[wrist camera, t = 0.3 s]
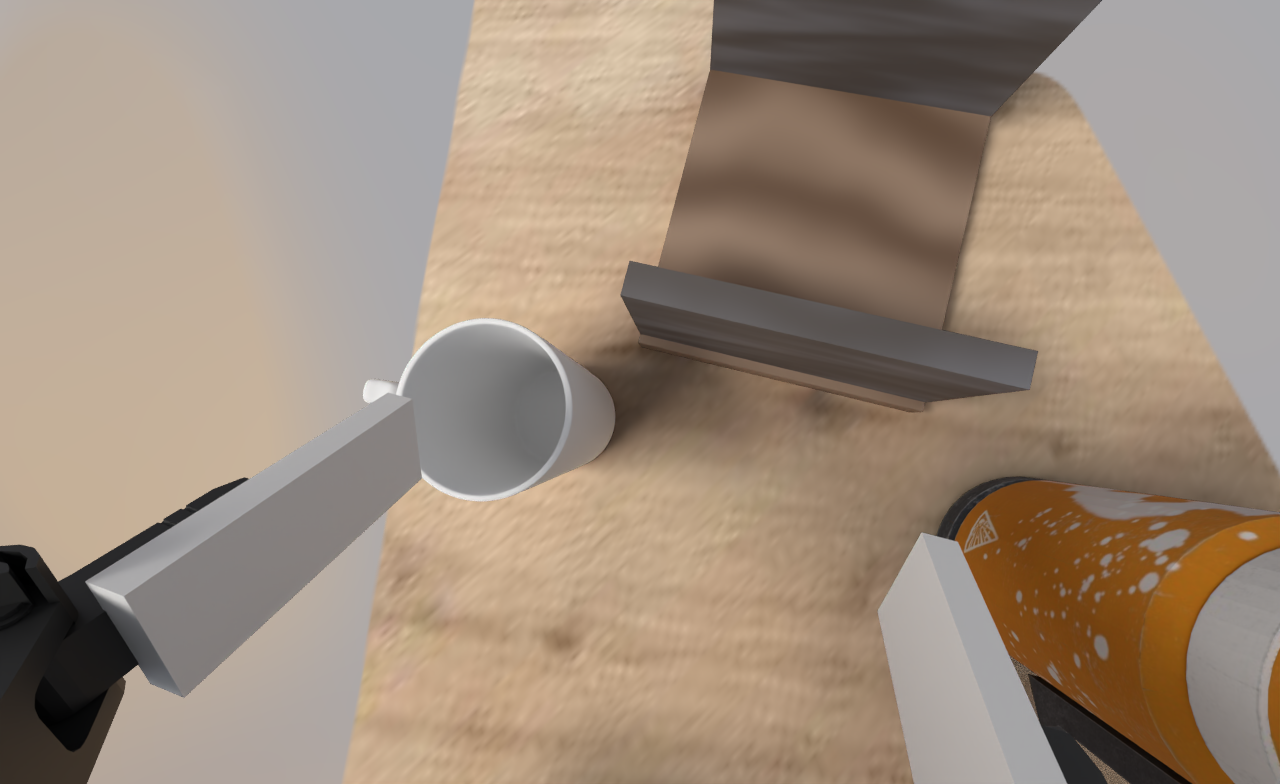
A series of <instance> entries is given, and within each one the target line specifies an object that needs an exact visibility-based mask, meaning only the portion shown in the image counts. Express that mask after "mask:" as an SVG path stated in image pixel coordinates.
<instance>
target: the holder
mask: <svg viewBox="0 0 1280 784" xmlns="http://www.w3.org/2000/svg"><path fill="white" fill-rule="evenodd" d="M1101 1H1102V0H714V10H713V28H712V46H711V64H710V72H709V76H708V80H707V84H706V87H705V91H704V95H703V99H702V102H701V106H700V110H699V114H698V118H697V121H696V125H695V129H694V133H693V137H692V140H691V144H690V148H689V152H688V156H687V159H686V163H685V167H684V171H683V174H682V178H681V182H680V186H679V190H678V193H677V197H676V201H675V205H674V209H673V212H672V216H671V220H670V224H669V228H668V231H667V235H666V239H665V243H664V246H663V250H662V254H661V258H660V262H659V265H658V267H656V266H651V265H647V264H642V263H638V262H633V261H629V265H628V269H627V273H626V276H625V280H624V284H623V288H622V291H621V297H622V299H623V301H624V303H625V305H626V307H627V309H628V311H629V313H630V315H631V317H632V319H633V320H634V322H635V324H636V326H637V328H638V330H639V332H640V337H639V341H638V343H639V344H640V346H641V347H644V348H648V349H652V350H656V351H660V352H665V353H669V354H673V355H677V356H681V357H685V358H689V359H693V360H697V361H702V362H706V363H710V364H714V365H718V366H722V367H726V368H730V369H734V370H739V371H743V372H747V373H751V374H755V375H759V376H763V377H767V378H771V379H775V380H780V381H784V382H788V383H792V384H796V385H800V386H804V387H808V388H812V389H817V390H821V391H825V392H829V393H833V394H837V395H841V396H845V397H849V398H854V399H858V400H862V401H866V402H870V403H874V404H878V405H882V406H886V407H890V408H895V409H899V410H903V411H907V412H921V411H923V410H924V406H925V402H932V401H940V400H949V399H957V398H965V397H974V396H982V395H990V394H998V393H1007V392H1015V391H1023V390H1030V385H1031V381H1032V376H1033V372H1034V367H1035V363H1036V358H1037V353H1038V351H1035V350H1030V349H1026V348H1021V347H1017V346H1012V345H1008V344H1003V343H999V342H994V341H990V340H985V339H981V338H976V337H972V336H967V335H963V334H958V333H954V332H949V331H945V330H942V327H943V323H944V319H945V314H946V310H947V305H948V301H949V297H950V292H951V288H952V284H953V279H954V275H955V271H956V266H957V262H958V258H959V253H960V249H961V245H962V240H963V236H964V232H965V227H966V223H967V219H968V214H969V210H970V205H971V201H972V197H973V192H974V188H975V184H976V179H977V175H978V171H979V166H980V162H981V158H982V153H983V149H984V145H985V140H986V136H987V132H988V127H989V123H990V118H991V116H992V115H993V114H994V113H995V112H996V111H997V110H998V109H999V108H1000V107H1001V105H1002V104H1003V103H1004V102H1005V101H1006V100H1007V99H1008V98H1009V97H1010V96H1011V95H1012V94H1013V93H1014V92H1015V91H1016V90H1017V89H1018V88H1019V87H1020V86H1021V85H1022V84H1023V82H1024V81H1025V80H1026V79H1027V78H1028V77H1029V76H1030V75H1031V74H1032V73H1033V72H1034V71H1035V70H1036V69H1037V68H1038V67H1039V66H1040V65H1041V64H1042V63H1043V62H1044V60H1046V58H1047V57H1048V56H1049V55H1050V54H1051V53H1052V52H1053V51H1054V50H1055V49H1056V48H1057V47H1058V46H1059V45H1060V44H1061V43H1062V42H1063V41H1064V40H1065V39H1066V38H1067V37H1068V35H1069V34H1070V33H1071V32H1072V31H1073V30H1074V29H1075V28H1076V27H1077V26H1078V25H1079V24H1080V23H1081V22H1082V21H1083V20H1084V19H1085V18H1086V17H1087V16H1088V15H1089V14H1090V12H1091V11H1092V10H1093V9H1094V8H1095V7H1096V6H1097V5H1098V4H1099V3H1100V2H1101Z"/></svg>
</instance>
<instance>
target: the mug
mask: <svg viewBox="0 0 1280 784" xmlns="http://www.w3.org/2000/svg"><path fill="white" fill-rule="evenodd" d="M386 393H391V394H395V395H399V396H403V397H407V398H410V399H412V400H413V408H414V416H415V425H416V433H417V441H418V449H419V458H420V466H421V474H422V478H423V479H424V480H425V481H426V482H428V483H429V484H430V485H432V486H433V487H435V488H436V489H438V490H440V491H441V492H443V493H445V494H448V495H450V496H453V497H456V498H459V499H464V500H469V501H493V500H499V499H503V498H507V497H510V496H513V495H515V494H517V493H520V492H522V491H525V490H527V489H530V488H532V487H534V486H536V485H539V484H541V483H543V482H546V481H548V480H550V479H552V478H555V477H557V476H559V475H562V474H564V473H567V472H569V471H572V470H574V469H576V468H578V467H580V466H582V465H585V464H587V463H589V462H590V461H592V460H593V459H595V458H596V457H597V456H598V455H599V454H600V453H601V452H602V451H603V450H604V449H605V447H606V446H607V444H608V443H609V441H610V439H611V437H612V434H613V431H614V426H615V408H614V403H613V400H612V397H611V395H610V393H609V391H608V390H607V388H606V387H605V385H604V384H603V383H602V382H601V381H600V380H599V379H598V378H597V377H596V376H594V375H593V374H591V373H590V372H589V371H588V370H587V369H585V368H584V367H583V366H581V365H580V364H578V363H577V362H575V361H574V360H573V359H571V358H570V357H568V356H567V355H566V354H564V353H563V352H561V351H560V350H559V349H557V348H556V347H555V346H553V345H552V344H550V343H549V342H547V341H546V340H544V339H543V338H541V337H539V336H538V335H536V334H535V333H534V332H532V331H530V330H529V329H527V328H525V327H523V326H521V325H518V324H516V323H513V322H510V321H506V320H501V319H493V318H480V319H472V320H467V321H463V322H460V323H457V324H454V325H452V326H449V327H447V328H445V329H443V330H442V331H440V332H438V333H437V334H435V335H434V336H433V337H431V338H430V339H429V340H428V341H426V342H425V343H424V344H423V345H422V346H421V347H420V348H419V350H418V351H417V352H416V353H415V354H414V356H413V357H412V358H411V360H410V361H409V363H408V365H407V367H406V368H405V370H404V372H403V374H402V377H401V379H400V382H393V381H386V380H379V379H370V380H368V381H367V382H366V384H365V386H364V391H363V398H364V400H365V401H366V402H367V403H372V402H374V401H375V400H377V399H378V398H380V397H382V396H383V395H385V394H386Z"/></svg>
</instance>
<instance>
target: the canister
mask: <svg viewBox="0 0 1280 784" xmlns="http://www.w3.org/2000/svg"><path fill="white" fill-rule="evenodd" d="M937 537H941V538H945V539H949V540H953V541H957V542H958V544H959V546H960V548H961V550H962V552H963V555H964V557H965V559H966V561H967V563H968V566H969V568H970V570H971V572H972V575H973V577H974V579H975V581H976V583H977V586H978V588H979V590H980V592H981V594H982V597H983V599H984V601H985V603H986V606H987V608H988V610H989V612H990V614H991V617H992V619H993V621H994V623H995V625H996V628H997V630H998V632H999V634H1000V636H1001V639H1002V641H1003V643H1004V645H1005V648H1006V650H1007V652H1008V654H1009V655H1010V656H1011V657H1013V658H1014V659H1016V660H1017V661H1019V662H1020V663H1021V664H1023V665H1024V666H1026V667H1027V668H1029V669H1030V670H1031V671H1033V672H1034V673H1036V674H1037V675H1038V676H1040V677H1038V676H1034V675H1030V674H1028V676H1029V680H1030V684H1031V689H1032V693H1033V697H1034V701H1035V705H1036V710H1037V714H1038V718H1039V722H1040V725H1043V726H1046V727H1049V728H1052V729H1055V730H1059V731H1062V732H1065V733H1068V734H1071V735H1072V737H1073V738H1074V739H1075V740H1077V741H1078V742H1079V743H1080V744H1082V745H1083V746H1084V747H1085V748H1087V749H1088V750H1089V751H1090V752H1092V753H1093V754H1094V755H1095V756H1097V757H1098V758H1099V759H1100V760H1102V761H1103V762H1104V763H1105V764H1107V765H1108V766H1109V767H1110V768H1112V769H1113V770H1114V771H1115V772H1117V773H1118V774H1119V775H1120V776H1122V777H1123V778H1124V779H1125V780H1127V781H1128V782H1129V783H1130V784H1280V512H1273V511H1266V510H1259V509H1252V508H1244V507H1237V506H1230V505H1223V504H1216V503H1208V502H1201V501H1194V500H1187V499H1180V498H1172V497H1165V496H1158V495H1151V494H1143V493H1136V492H1129V491H1122V490H1115V489H1107V488H1100V487H1093V486H1086V485H1078V484H1071V483H1064V482H1056V481H1050V480H1042V479H1035V478H1026V477H1006V478H1001V479H996V480H992V481H989V482H986V483H983V484H981V485H979V486H977V487H975V488H973V489H971V490H969V491H968V492H967V493H966V494H964V495H963V496H962V497H960V498H959V499H958V500H957V501H956V502H955V503H954V505H953V506H952V507H951V508H950V509H949V511H948V512H947V514H946V515H945V517H944V518H943V520H942V523H941V525H940V528H939V530H938V533H937Z"/></svg>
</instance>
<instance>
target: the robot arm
mask: <svg viewBox="0 0 1280 784" xmlns="http://www.w3.org/2000/svg"><path fill="white" fill-rule="evenodd" d="M421 479H422V474H421V466H420V458H419V449H418V441H417V433H416V425H415V416H414V408H413V400H412V399H410V398H407V397H403V396H399V395H395V394H391V393H386V394H385V395H383V396H382V397H380V398H378V399H377V400H375V401H374V402H372V403H370V404H369V405H367V406H366V407H364V408H362V409H361V410H359V411H358V412H356V413H354V414H353V415H351V416H350V417H348V418H346V419H345V420H343V421H342V422H340V423H338V424H337V425H335V426H334V427H332V428H330V429H329V430H327V431H325V432H324V433H322V434H321V435H319V436H317V437H316V438H314V439H313V440H311V441H310V442H308V443H306V444H305V445H303V446H302V447H300V448H298V449H297V450H295V451H294V452H292V453H290V454H289V455H287V456H285V457H284V458H282V459H281V460H279V461H278V462H276V463H274V464H273V465H271V466H270V467H268V468H266V469H265V470H263V471H261V472H260V473H258V474H257V475H255V476H253V477H252V478H250V479H248V478H242V479H239V480H236V481H233V482H231V483H228V484H226V485H223V486H220V487H218V488H215V489H213V490H211V491H209V492H208V493H206V494H204V495H203V496H201V497H199V498H198V499H196V500H195V501H193V502H191V503H190V504H188V505H186V508H185V509H180V510H178V511H176V512H175V513H173V514H171V515H170V516H168V517H166V518H165V519H164V521H163V522H162V523H156V524H155V525H153V526H151V527H150V528H148V529H146V530H145V531H143V532H141V533H140V534H138V535H136V536H135V537H133V538H131V539H130V540H128V541H127V542H125V543H123V544H121V545H120V546H118V547H116V548H115V549H114V550H111V551H110V552H108V553H107V554H105V555H103V556H102V557H100V558H98V559H97V560H95V561H93V562H92V563H90V564H88V565H87V566H85V567H83V568H82V569H80V570H78V571H77V572H75V573H73V574H72V575H70V576H68V577H66V578H64V579H62V580H61V581H59V582H58V581H57V580H56V578H55V577H54V575H53V574H52V573H51V571H50V569H49V568H48V567H47V565H46V564H45V562H44V561H43V559H42V558H41V556H40V555H39V553H38V552H37V551H36V550H35V548H33V547H28V546H24V545H10V546H0V784H87V782H88V779H89V777H90V774H91V772H92V770H93V767H94V765H95V762H96V760H97V758H98V755H99V753H100V750H101V748H102V745H103V743H104V740H105V738H106V736H107V733H108V731H109V728H110V726H111V724H112V721H113V719H114V716H115V714H116V711H117V709H118V706H119V704H120V701H121V699H122V697H123V694H124V690H125V683H126V681H125V680H124V678H123V676H124V675H125V674H127V673H128V672H129V671H130V670H132V669H133V668H134V667H135V666H137V665H139V667H140V668H141V670H142V671H143V673H144V674H145V676H146V678H147V679H148V681H149V682H150V684H152V685H155V686H157V687H160V688H162V689H164V690H167V691H169V692H172V693H174V694H176V695H179V696H181V697H185V696H187V695H188V694H189V693H190V692H191V691H192V690H193V689H194V688H195V687H196V686H197V685H198V684H200V683H201V682H202V681H203V680H204V679H205V678H206V677H207V676H208V675H209V674H210V673H211V672H212V671H214V670H215V669H216V668H217V667H218V666H219V665H220V664H221V663H222V662H223V661H224V660H225V659H227V658H228V657H229V656H230V655H231V654H232V653H233V652H234V651H235V650H236V649H237V648H238V647H240V646H241V645H242V644H243V643H244V642H245V641H246V640H247V639H248V638H249V637H250V636H252V635H253V634H254V633H255V632H256V631H257V630H258V629H259V628H260V627H261V626H262V625H263V624H265V622H267V621H268V620H269V619H270V618H271V617H272V616H273V615H274V614H275V613H276V612H277V611H279V610H280V609H281V608H282V607H283V606H284V605H285V604H286V603H287V602H288V601H289V600H291V599H292V598H293V597H294V596H295V595H296V594H297V593H298V592H299V591H300V590H301V589H302V588H303V587H305V585H307V584H308V583H309V582H310V581H311V580H312V579H313V578H314V577H315V576H317V575H318V574H319V573H320V572H321V571H322V570H323V569H324V568H325V567H326V566H327V565H328V564H329V563H331V562H332V561H333V560H334V559H335V558H336V557H337V556H338V555H339V554H340V553H341V552H343V551H344V550H345V549H346V548H347V547H348V546H349V545H350V544H351V543H352V542H353V541H354V540H356V538H357V537H359V536H360V535H361V534H362V533H363V532H364V531H365V530H366V529H367V528H368V527H369V526H371V525H372V524H373V523H374V522H375V521H376V520H377V519H378V518H379V517H380V516H381V515H383V514H384V513H385V512H386V511H387V510H388V509H389V508H390V507H391V506H392V505H393V504H395V503H396V502H397V501H398V500H399V499H400V498H401V497H402V496H403V495H404V494H405V493H406V492H408V491H409V490H410V489H411V488H412V487H413V486H414V485H415V484H416V483H417V482H418V481H419V480H421ZM878 616H879V620H880V625H881V630H882V634H883V639H884V644H885V649H886V653H887V658H888V663H889V668H890V672H891V677H892V682H893V686H894V691H895V696H896V701H897V705H898V710H899V715H900V720H901V724H902V729H903V734H904V738H905V743H906V748H907V753H908V757H909V762H910V767H911V772H912V776H913V781H914V784H1107V782H1106V780H1105V778H1104V776H1103V774H1102V773H1101V771H1100V770H1099V769H1098V768H1097V766H1096V765H1095V764H1094V763H1093V761H1092V760H1091V759H1090V758H1089V756H1088V755H1087V754H1086V753H1085V752H1084V750H1083V749H1082V748H1081V747H1080V745H1079V744H1078V743H1077V742H1076V740H1075V739H1074V738H1073V737H1072V735H1071V734H1068V733H1065V732H1062V731H1059V730H1055V729H1052V728H1049V727H1046V726H1043V725H1040V723H1039V720H1038V718H1037V716H1036V714H1035V712H1034V709H1033V707H1032V705H1031V703H1030V701H1029V698H1028V696H1027V694H1026V692H1025V690H1024V687H1023V685H1022V683H1021V681H1020V678H1019V676H1018V674H1017V672H1016V670H1015V667H1014V665H1013V663H1012V661H1011V659H1010V656H1009V654H1008V652H1007V650H1006V648H1005V645H1004V643H1003V641H1002V639H1001V636H1000V634H999V632H998V630H997V628H996V625H995V623H994V621H993V619H992V617H991V614H990V612H989V610H988V608H987V606H986V603H985V601H984V599H983V597H982V594H981V592H980V590H979V588H978V586H977V583H976V581H975V579H974V577H973V575H972V572H971V570H970V568H969V566H968V563H967V561H966V559H965V557H964V555H963V552H962V550H961V548H960V546H959V544H958V542H957V541H953V540H949V539H945V538H941V537H937V536H934V535H930V534H926V533H921V534H920V536H919V538H918V540H917V542H916V543H915V545H914V547H913V549H912V550H911V552H910V554H909V556H908V558H907V559H906V561H905V563H904V565H903V566H902V568H901V570H900V572H899V574H898V575H897V577H896V579H895V581H894V583H893V584H892V586H891V588H890V590H889V591H888V593H887V595H886V597H885V599H884V600H883V602H882V604H881V606H880V607H879V609H878Z"/></svg>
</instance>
